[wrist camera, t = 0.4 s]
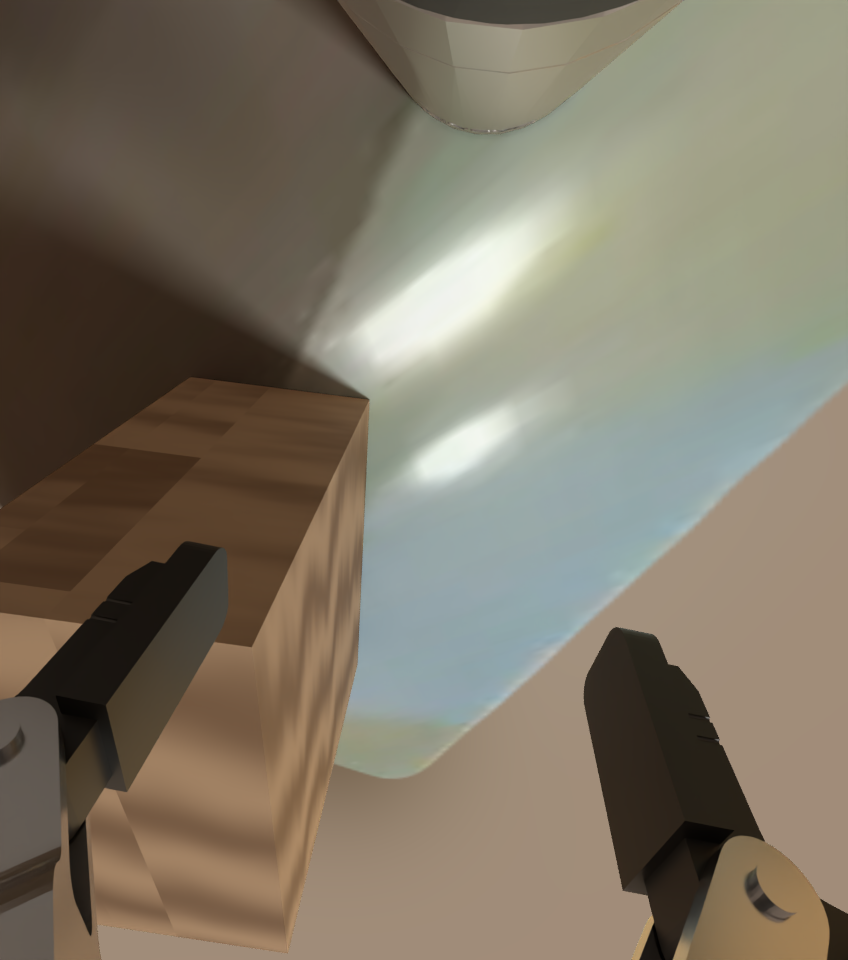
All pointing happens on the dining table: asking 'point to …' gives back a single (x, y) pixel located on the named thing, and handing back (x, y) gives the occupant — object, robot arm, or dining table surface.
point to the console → (233, 656)
